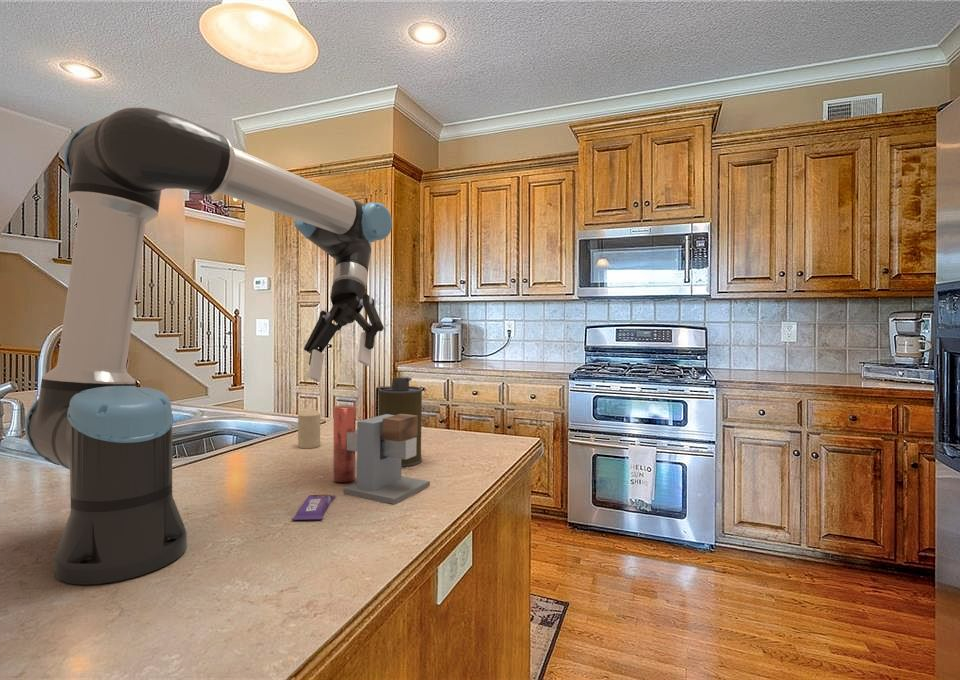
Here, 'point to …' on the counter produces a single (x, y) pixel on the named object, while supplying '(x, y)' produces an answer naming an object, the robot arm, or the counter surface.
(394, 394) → the canister
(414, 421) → the bar
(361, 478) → the grey holder stand
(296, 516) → the snack package
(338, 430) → the shaft
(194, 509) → the counter surface
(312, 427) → the candle
